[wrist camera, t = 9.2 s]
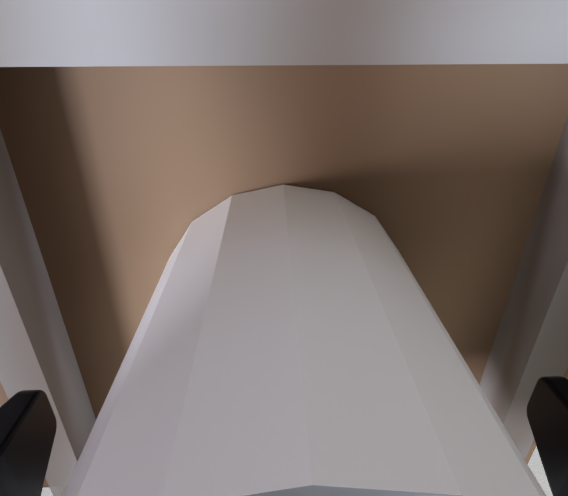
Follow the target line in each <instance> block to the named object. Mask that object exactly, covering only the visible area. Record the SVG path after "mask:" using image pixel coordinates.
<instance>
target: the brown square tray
mask: <svg viewBox="0 0 568 496" xmlns="http://www.w3.org/2000/svg"><path fill="white" fill-rule="evenodd" d="M279 185H290V186H297V187H303V188H310V189H316V190H323V191H330V192H335V193H337V194H338V195H340V196H342V197H344V198H345V199H347V200H349V201H350V202H352V203H354V204H355V205H357V206H359V207H361V208H362V209H364V210H366V211H367V212H369V213H371V214H372V215H374V216H375V217H376V218H377V220H378V221H379V223H380V224H381V226H382V227H383V228H384V230H385V231H386V233H387V234H388V236H389V237H390V239H391V240H392V242H393V243H394V245H395V246H396V248H397V249H398V251H399V252H400V254H401V256H402V257H403V259H404V261H405V262H406V264H407V266H408V267H409V269H410V271H411V272H412V274H413V276H414V277H415V279H416V281H417V282H418V284H419V286H420V287H421V289H422V291H423V292H424V294H425V296H426V297H427V299H428V300H429V302H430V304H431V305H432V307H433V309H434V310H435V312H436V314H437V315H438V317H439V319H440V320H441V322H442V324H443V325H444V327H445V329H446V330H447V332H448V334H449V335H450V337H451V339H452V340H453V342H454V344H455V345H456V347H457V349H458V350H459V352H460V354H461V355H462V357H463V359H464V360H465V362H466V363H467V365H468V367H469V368H470V370H471V372H472V373H473V375H474V377H475V378H476V380H477V382H478V383H479V385H480V387H481V388H482V390H483V392H484V393H485V395H486V397H487V398H488V400H489V402H490V403H491V405H492V407H493V408H494V410H495V412H496V413H497V415H498V417H499V418H500V420H501V422H502V423H503V425H504V427H505V428H506V430H507V431H508V433H509V435H510V436H511V438H512V440H513V441H514V443H515V445H516V446H517V448H518V450H519V451H520V453H521V455H522V456H523V458H524V460H525V461H526V463H527V464H528V462H529V460H530V458H531V455H532V453H533V451H534V449H535V447H536V443H535V439H534V436H533V433H532V430H531V427H530V424H529V421H528V418H527V404H528V401H529V399H530V397H531V394H532V392H533V389H534V387H535V385H536V382H537V380H538V379H539V378H541V377H544V376H562V377H565V378H567V379H568V0H0V406H2V405H3V404H4V403H5V402H6V401H7V400H9V399H10V398H11V397H12V396H13V395H14V394H16V393H17V392H19V391H22V390H43V391H44V392H45V393H46V395H47V397H48V399H49V402H50V404H51V407H52V409H53V412H54V414H55V417H56V421H57V428H56V434H55V438H54V442H53V447H52V451H51V455H50V459H49V463H48V467H47V472H46V476H45V480H44V484H43V487H50V489H51V491H52V493H53V495H54V496H62V495H63V492H64V490H65V488H66V486H67V484H68V481H69V479H70V477H71V475H72V473H73V470H74V468H75V466H76V464H77V461H78V459H79V457H80V455H81V453H82V450H83V448H84V446H85V444H86V442H87V439H88V437H89V435H90V433H91V430H92V428H93V426H94V424H95V422H96V419H97V417H98V415H99V413H100V410H101V408H102V406H103V404H104V402H105V399H106V397H107V395H108V393H109V391H110V388H111V386H112V384H113V382H114V379H115V377H116V375H117V373H118V371H119V368H120V366H121V364H122V362H123V359H124V357H125V355H126V353H127V351H128V348H129V346H130V344H131V342H132V340H133V337H134V335H135V333H136V331H137V328H138V326H139V324H140V322H141V320H142V317H143V315H144V313H145V311H146V308H147V306H148V304H149V302H150V300H151V297H152V295H153V293H154V291H155V289H156V286H157V284H158V282H159V280H160V277H161V275H162V273H163V271H164V269H165V266H166V264H167V262H168V260H169V257H170V256H171V254H172V253H173V251H174V249H175V248H176V246H177V245H178V243H179V241H180V240H181V238H182V237H183V235H184V233H185V232H186V230H187V229H188V227H189V225H190V224H191V222H192V221H194V220H195V219H197V218H198V217H200V216H201V215H203V214H204V213H206V212H207V211H209V210H210V209H212V208H213V207H215V206H216V205H218V204H220V203H221V202H223V201H224V200H226V199H227V198H229V197H230V196H232V195H236V194H240V193H245V192H250V191H255V190H260V189H264V188H269V187H274V186H279Z"/></svg>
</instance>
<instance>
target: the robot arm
mask: <svg viewBox="0 0 568 496" xmlns="http://www.w3.org/2000/svg"><path fill="white" fill-rule="evenodd" d="M527 418H528V421H529V424H530V427H531V430H532V433H533V436H534V439H535V443H536V446H537V449H538V452H539V455H540V458H541V461H542V464H543V467H544V470H545V473H546V476H547V479H548V482H549V485H550V488H551V491H552V494H553V496H568V379H567V378H565V377H562V376H544V377H541V378H539V379H538V380H537V382H536V385H535V387H534V389H533V392H532V394H531V397H530V399H529V401H528V404H527ZM56 428H57V421H56V417H55V414H54V412H53V409H52V407H51V404H50V402H49V399H48V397H47V395H46V393H45V392H44V391H43V390H22V391H19V392H17V393H16V394H14V395H13V396H12V397H11V398H10V399H9V400H7V401H6V402H5V403H4V404H3V405H2V406H1V407H0V496H41V492H42V488H43V484H44V480H45V476H46V472H47V467H48V463H49V459H50V455H51V451H52V447H53V442H54V438H55V434H56Z"/></svg>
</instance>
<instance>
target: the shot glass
mask: <svg viewBox="0 0 568 496" xmlns="http://www.w3.org/2000/svg"><path fill="white" fill-rule="evenodd" d="M62 496H546V494H545V493H544V491H543V490H542V488H541V486H540V485H539V483H538V481H537V480H536V478H535V476H534V475H533V473H532V471H531V470H530V468H529V466H528V465H527V463H526V461H525V460H524V458H523V456H522V455H521V453H520V451H519V450H518V448H517V446H516V445H515V443H514V441H513V440H512V438H511V436H510V435H509V433H508V431H507V430H506V428H505V427H504V425H503V423H502V422H501V420H500V418H499V417H498V415H497V413H496V412H495V410H494V408H493V407H492V405H491V403H490V402H489V400H488V398H487V397H486V395H485V393H484V392H483V390H482V388H481V387H480V385H479V383H478V382H477V380H476V378H475V377H474V375H473V373H472V372H471V370H470V368H469V367H468V365H467V363H466V362H465V360H464V359H463V357H462V355H461V354H460V352H459V350H458V349H457V347H456V345H455V344H454V342H453V340H452V339H451V337H450V335H449V334H448V332H447V330H446V329H445V327H444V325H443V324H442V322H441V320H440V319H439V317H438V315H437V314H436V312H435V310H434V309H433V307H432V305H431V304H430V302H429V300H428V299H427V297H426V296H425V294H424V292H423V291H422V289H421V287H420V286H419V284H418V282H417V281H416V279H415V277H414V276H413V274H412V272H411V271H410V269H409V267H408V266H407V264H406V262H405V261H404V259H403V257H402V256H401V254H400V252H399V251H398V249H397V248H396V246H395V245H394V243H393V242H392V240H391V239H390V237H389V236H388V234H387V233H386V231H385V230H384V228H383V227H382V226H381V224H380V223H379V221H378V220H377V218H376V217H375V216H374V215H372V214H371V213H369V212H367V211H366V210H364V209H362V208H361V207H359V206H357V205H355V204H354V203H352V202H350V201H349V200H347V199H345V198H344V197H342V196H340V195H338V194H337V193H335V192H330V191H323V190H316V189H310V188H303V187H297V186H290V185H279V186H274V187H269V188H264V189H260V190H255V191H250V192H245V193H240V194H236V195H232V196H230V197H229V198H227V199H226V200H224V201H223V202H221V203H220V204H218V205H216V206H215V207H213V208H212V209H210V210H209V211H207V212H206V213H204V214H203V215H201V216H200V217H198V218H197V219H195V220H194V221H192V222H191V224H190V225H189V227H188V229H187V230H186V232H185V233H184V235H183V237H182V238H181V240H180V241H179V243H178V245H177V246H176V248H175V249H174V251H173V253H172V254H171V256H170V257H169V260H168V262H167V264H166V266H165V269H164V271H163V273H162V275H161V277H160V280H159V282H158V284H157V286H156V289H155V291H154V293H153V295H152V297H151V300H150V302H149V304H148V306H147V308H146V311H145V313H144V315H143V317H142V320H141V322H140V324H139V326H138V328H137V331H136V333H135V335H134V337H133V340H132V342H131V344H130V346H129V348H128V351H127V353H126V355H125V357H124V359H123V362H122V364H121V366H120V368H119V371H118V373H117V375H116V377H115V379H114V382H113V384H112V386H111V388H110V391H109V393H108V395H107V397H106V399H105V402H104V404H103V406H102V408H101V410H100V413H99V415H98V417H97V419H96V422H95V424H94V426H93V428H92V430H91V433H90V435H89V437H88V439H87V442H86V444H85V446H84V448H83V450H82V453H81V455H80V457H79V459H78V461H77V464H76V466H75V468H74V470H73V473H72V475H71V477H70V479H69V481H68V484H67V486H66V488H65V490H64V492H63V495H62Z"/></svg>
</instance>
